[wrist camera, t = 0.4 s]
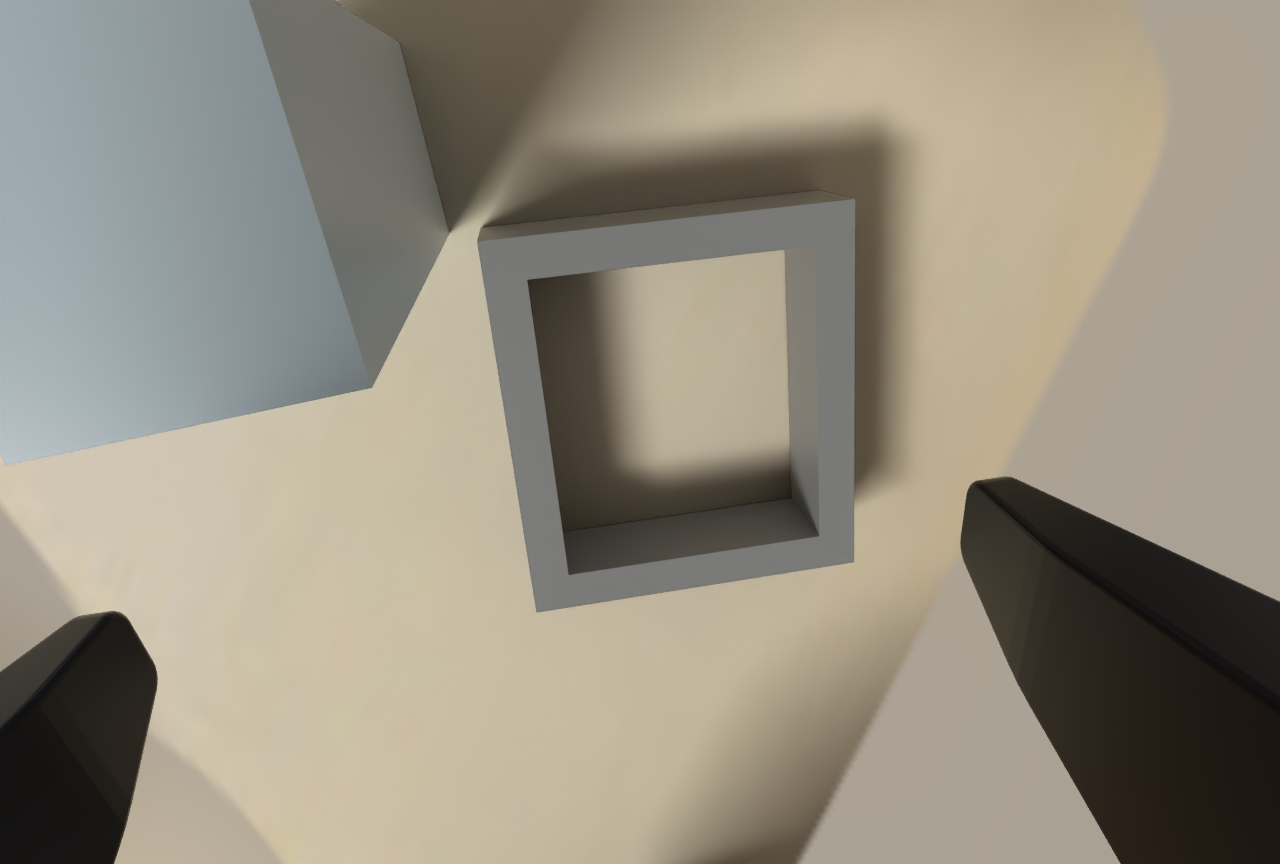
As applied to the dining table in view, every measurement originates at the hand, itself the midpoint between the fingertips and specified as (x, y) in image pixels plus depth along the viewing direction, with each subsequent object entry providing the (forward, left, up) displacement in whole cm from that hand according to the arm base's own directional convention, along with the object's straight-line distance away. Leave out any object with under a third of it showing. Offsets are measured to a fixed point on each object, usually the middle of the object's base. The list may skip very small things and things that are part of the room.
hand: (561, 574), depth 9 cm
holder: (-3, -4, -14) cm, 15 cm away
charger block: (+4, +4, -14) cm, 15 cm away
